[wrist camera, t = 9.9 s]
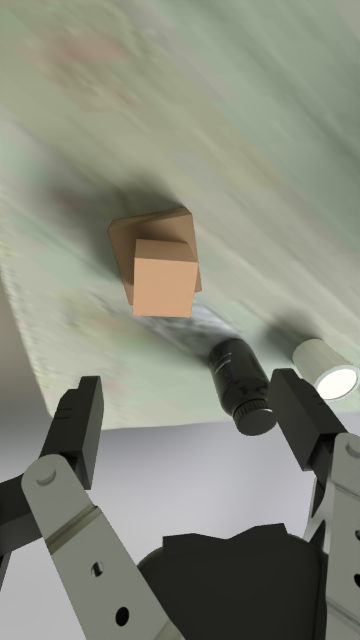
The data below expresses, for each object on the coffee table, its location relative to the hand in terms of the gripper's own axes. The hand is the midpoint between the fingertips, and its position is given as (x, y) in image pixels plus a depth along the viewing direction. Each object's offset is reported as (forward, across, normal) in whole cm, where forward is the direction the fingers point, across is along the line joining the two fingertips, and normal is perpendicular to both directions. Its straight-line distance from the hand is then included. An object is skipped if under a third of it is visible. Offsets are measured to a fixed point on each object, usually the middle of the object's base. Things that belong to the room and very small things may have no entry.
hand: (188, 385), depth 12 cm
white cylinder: (+22, -23, +16) cm, 36 cm away
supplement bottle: (+22, -10, +16) cm, 29 cm away
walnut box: (+22, +1, 0) cm, 22 cm away
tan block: (+17, 0, 0) cm, 17 cm away
